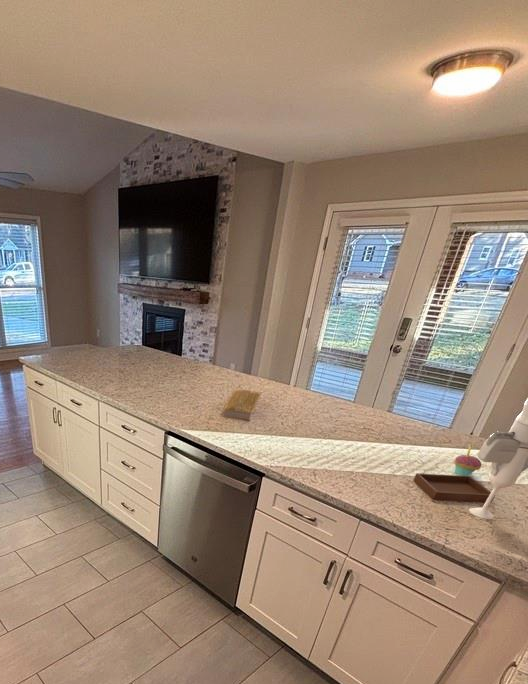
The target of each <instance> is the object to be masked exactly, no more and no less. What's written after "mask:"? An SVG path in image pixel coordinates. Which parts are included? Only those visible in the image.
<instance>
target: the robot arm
mask: <svg viewBox="0 0 528 684" xmlns="http://www.w3.org/2000/svg"><path fill="white" fill-rule="evenodd" d="M518 448H525V449H528V398H527V399H526V400H525V402H524V404H523V407H522V411H521V412H520V414H519V415H517V417H516V418H515V419H514V422H513V423H512V425H511V427H510V429H509V431H496V432H494V433H492V434H490V435H489V436H488V438H487V440H485V442H484V443H483V444H482V446H481V447H480V449H479V450H478V452H477V453H476V455H477V456H476V457H477V458H478V459H479V460H480V461H481V462H483V463H491V467H492V468H491V470H490V472H489V474H490V473H491V474H492V475H494V476H495V475H497V473H498V472H499V466H501V465H502V463H510V462H511V461H512V459H513V458H514V456H515V455H516V453H517V452H516V451H517V450H518ZM527 469H528V457H527V459H526V461H525V463H524V465H523V468H522V470H521V472H520V474H519V476H518V478H519V477H520V475H521V474H522V473H523V472H525V471H526V470H527Z"/></svg>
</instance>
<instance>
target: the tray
mask: <svg viewBox="0 0 528 684" xmlns="http://www.w3.org/2000/svg"><path fill="white" fill-rule="evenodd" d="M412 481H413V482H414V483H415V484H416V485H417V486H418V487H419V488H420V489H421V490H423V492H424V493H426V495H428V496H429V497H430V498H431V500H433V501H449V502H468V503H483V504H485V502H486V501H487V499H488V497H489V495H490V494H491V492H492V491H491V490H490V489H488V488H487V487H485V486H484V485H483V484H481V483H480V482H479V481H477V480H476V479H475V478H474V477H473V476H471V475H469V476H462V475H458V474H457V475H456V474H455V475H454V474H451V475H450V474H439V473H438V474H436V473H418V472H417V473H415V476H414V478H413V480H412ZM495 497H496V495H495V496H494V497H493V499H492V501H491V503H492V502H493V500H494V499H495Z"/></svg>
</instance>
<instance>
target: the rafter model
mask: <svg viewBox="0 0 528 684" xmlns="http://www.w3.org/2000/svg"><path fill="white" fill-rule="evenodd" d="M261 395H262V392H258V391H253V390H248V389H234V390H233V391H232V393H231V394H230V396H229V398H228V400H227V401H226V403H225V404H224V406H223V408H222V411H223V417H228V418H234V419H240V420H246V421H251V418H252V415H253V414H254V412H255V410H256V407H257V404H258V402H259V399H260V397H261Z"/></svg>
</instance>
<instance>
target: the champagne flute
mask: <svg viewBox="0 0 528 684" xmlns="http://www.w3.org/2000/svg"><path fill="white" fill-rule="evenodd" d="M516 452H517V453H516V455H515V456H514V458H513V459H512V461H511V462H510V463H502V465H501V466H499V472H498V473H497V475H495V476H494V475H492V474H491V473H490V472H489V474H488V479H489V482H490V483H491V485H492V487H493V488H492V491H490V492H491V494H490V495H489V497H488V499H487V501H486V502H485V503H483V506H482V507H470V508H469V512H470V513H471V514H472V515H473V516H475V517H478V518H481V519H484V520H492V519H494V518H495V516H494V514H493V513H491V511H489V510H488V508H489V506H490V504H491V503H492V502H493V500H494V499H493V497H494V496H495V497H496V495H497V492H498V491H499V489H505V488H508V487H511V486H513V485H515V483H516V482H517V480H518V478H519V477H520V475H521V474H520V472H521V470H522V468H523V465H524V463H525V461H526V459H527V457H528V449H525V448H518V450H517V451H516ZM521 473H522V472H521ZM519 474H520V475H519ZM518 476H519V477H518ZM495 497H494V498H495ZM492 499H493V500H492ZM491 501H492V502H491Z"/></svg>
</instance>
